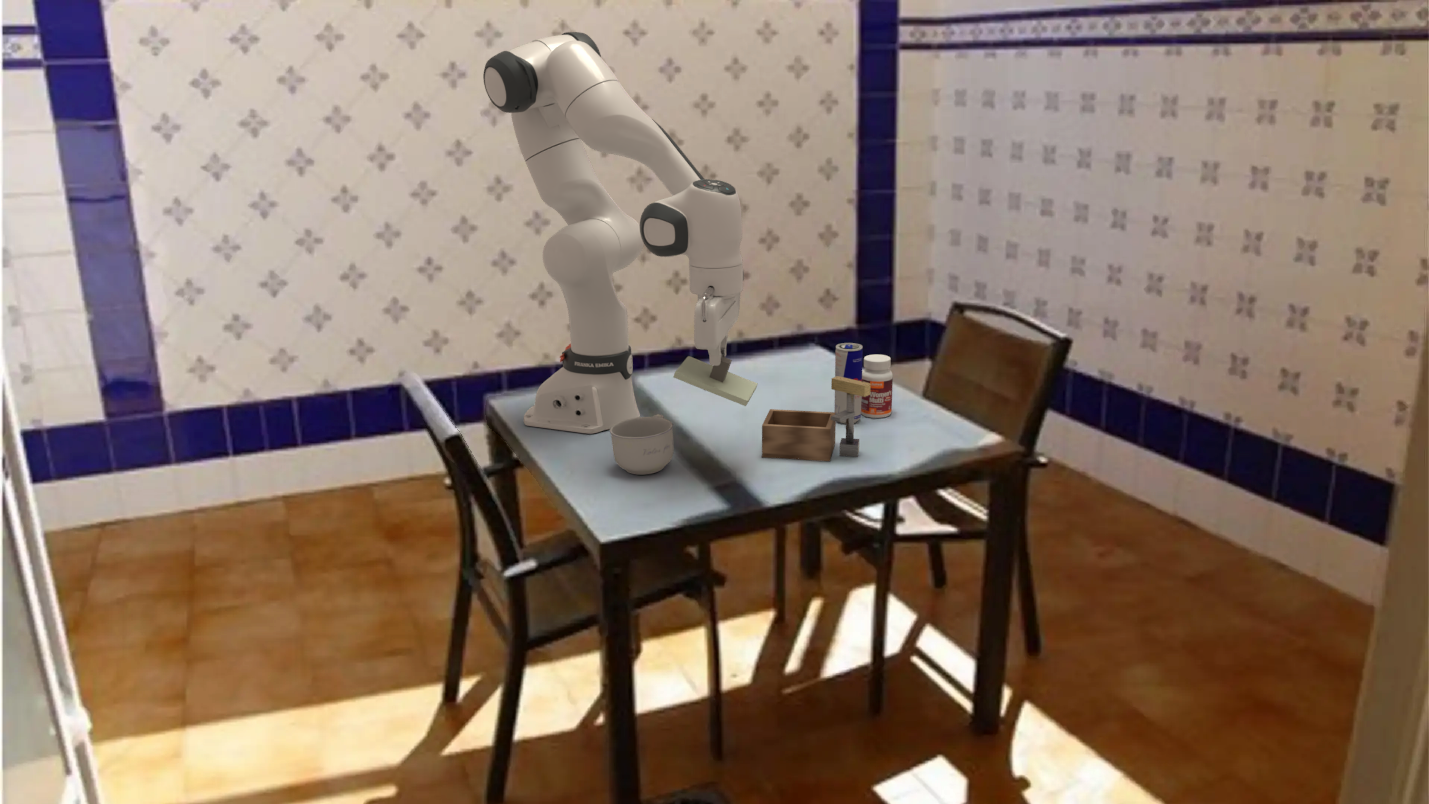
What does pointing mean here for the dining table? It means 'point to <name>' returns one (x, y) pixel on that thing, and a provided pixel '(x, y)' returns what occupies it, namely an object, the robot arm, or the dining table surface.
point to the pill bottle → (877, 386)
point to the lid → (716, 379)
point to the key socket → (849, 448)
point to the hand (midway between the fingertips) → (718, 361)
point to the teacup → (643, 444)
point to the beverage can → (848, 374)
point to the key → (849, 401)
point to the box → (798, 435)
